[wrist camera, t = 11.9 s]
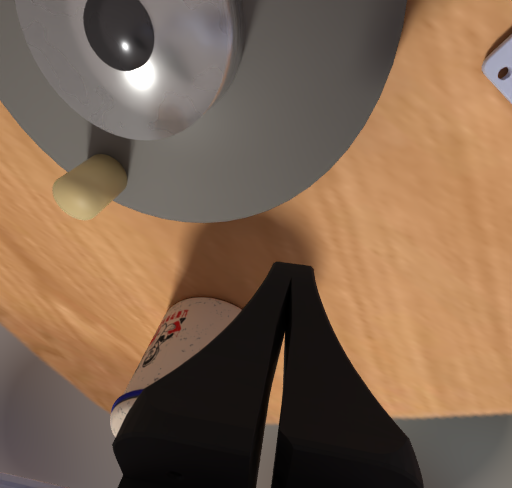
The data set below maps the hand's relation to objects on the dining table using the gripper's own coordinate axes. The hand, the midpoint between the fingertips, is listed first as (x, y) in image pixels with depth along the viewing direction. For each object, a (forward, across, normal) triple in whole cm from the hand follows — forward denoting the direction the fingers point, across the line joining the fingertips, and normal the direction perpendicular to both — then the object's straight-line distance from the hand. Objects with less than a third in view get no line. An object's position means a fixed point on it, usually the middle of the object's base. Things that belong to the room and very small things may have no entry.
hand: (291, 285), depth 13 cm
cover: (+7, +7, -7) cm, 13 cm away
